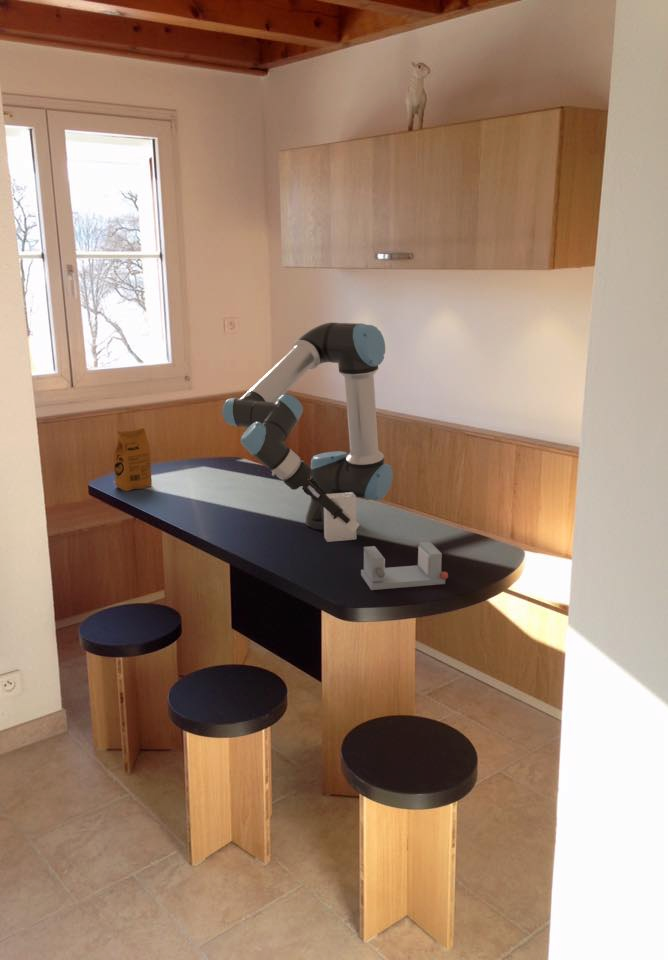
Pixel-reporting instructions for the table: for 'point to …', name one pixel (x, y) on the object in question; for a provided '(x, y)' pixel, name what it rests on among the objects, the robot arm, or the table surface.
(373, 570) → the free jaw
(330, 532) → the steel block
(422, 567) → the vise
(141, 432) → the coffee package
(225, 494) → the table surface
